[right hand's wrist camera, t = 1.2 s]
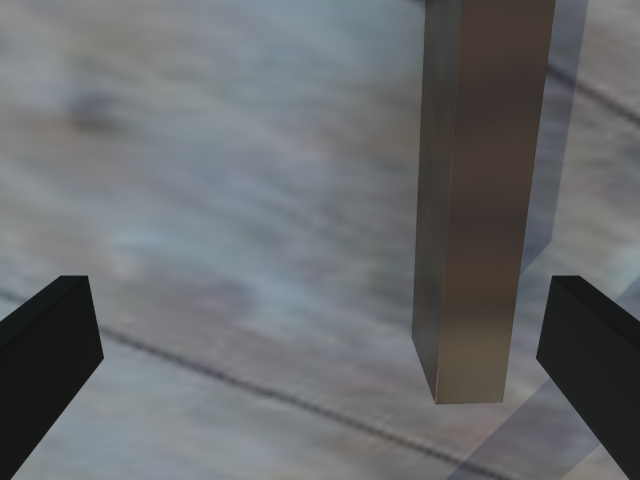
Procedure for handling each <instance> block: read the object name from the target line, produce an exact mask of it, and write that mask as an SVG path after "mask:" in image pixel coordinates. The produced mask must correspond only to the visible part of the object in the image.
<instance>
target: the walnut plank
mask: <svg viewBox="0 0 640 480" xmlns="http://www.w3.org/2000/svg"><path fill="white" fill-rule="evenodd" d="M554 7H555V0H426V13H425V37H424V61H423V85H422V109H421V133H420V156H419V180H418V204H417V228H416V252H415V276H414V300H413V323H412V340H413V343H414V345H415V348H416V351H417V354H418V357H419V360H420V362H421V365H422V368H423V371H424V374H425V377H426V379H427V382H428V385H429V388H430V391H431V393H432V396H433V399H434V402H435V404H462V403H495V402H503V394H504V387H505V379H506V371H507V364H508V356H509V349H510V341H511V333H512V326H513V318H514V311H515V303H516V296H517V288H518V280H519V273H520V265H521V258H522V250H523V242H524V235H525V227H526V220H527V212H528V204H529V197H530V189H531V182H532V174H533V167H534V159H535V151H536V144H537V136H538V129H539V121H540V113H541V106H542V98H543V91H544V83H545V75H546V68H547V60H548V53H549V45H550V38H551V30H552V22H553V15H554Z"/></svg>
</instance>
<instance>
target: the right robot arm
mask: <svg viewBox="0 0 640 480" xmlns="http://www.w3.org/2000/svg"><path fill="white" fill-rule="evenodd" d="M103 359H104V356H103V351H102V346H101V340H100V335H99V330H98V325H97V320H96V315H95V310H94V305H93V300H92V295H91V290H90V284H89V279H88V276H60V277H58V278H57V279H56V280H54V281H53V282H52V283H50V284H49V285H48V286H46V287H45V288H44V289H42V290H41V291H40V292H38V293H37V294H36V295H35V296H33V297H32V298H31V299H29V300H28V301H27V302H25V303H24V304H23V305H21V306H20V307H19V308H17V309H16V310H15V311H14V312H12V313H11V314H10V315H8V316H7V317H6V318H4V319H3V320H2V321H0V480H11V478H12V477H13V476H14V474H15V473H16V472H17V471H18V469H19V468H20V467H21V465H22V464H23V463H24V462H25V460H26V459H27V458H28V456H29V455H30V454H31V452H32V451H33V450H34V449H35V447H36V446H37V445H38V443H39V442H40V441H41V439H42V438H43V437H44V436H45V434H46V433H47V432H48V430H49V429H50V428H51V427H52V425H53V424H54V423H55V421H56V420H57V419H58V417H59V416H60V415H61V414H62V412H63V411H64V410H65V408H66V407H67V406H68V404H69V403H70V402H71V401H72V399H73V398H74V397H75V395H76V394H77V393H78V391H79V390H80V389H81V388H82V386H83V385H84V384H85V382H86V381H87V380H88V379H89V377H90V376H91V375H92V373H93V372H94V371H95V369H96V368H97V367H98V366H99V364H100V363H101V362H102V360H103ZM536 359H537V360H538V362H539V363H540V364H541V366H542V367H543V368H544V369H545V371H546V372H547V373H548V375H549V376H550V377H551V379H552V380H553V381H554V382H555V384H556V385H557V386H558V388H559V389H560V390H561V391H562V393H563V394H564V395H565V397H566V398H567V399H568V401H569V402H570V403H571V404H572V406H573V407H574V408H575V410H576V411H577V412H578V414H579V415H580V416H581V417H582V419H583V420H584V421H585V423H586V424H587V425H588V427H589V428H590V429H591V430H592V432H593V433H594V434H595V436H596V437H597V438H598V439H599V441H600V442H601V443H602V445H603V446H604V447H605V449H606V450H607V451H608V452H609V454H610V455H611V456H612V458H613V459H614V460H615V462H616V463H617V464H618V465H619V467H620V468H621V469H622V471H623V472H624V473H625V474H626V476H627V477H628V478H629V480H640V321H638V320H637V319H636V318H634V317H633V316H632V315H630V314H629V313H628V312H626V311H625V310H624V309H623V308H621V307H620V306H619V305H617V304H616V303H615V302H613V301H612V300H611V299H609V298H608V297H607V296H605V295H604V294H603V293H602V292H600V291H599V290H598V289H596V288H595V287H594V286H592V285H591V284H590V283H588V282H587V281H586V280H584V279H583V278H582V277H580V276H552V279H551V284H550V290H549V295H548V300H547V305H546V310H545V315H544V320H543V325H542V330H541V335H540V340H539V346H538V351H537V356H536Z"/></svg>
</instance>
